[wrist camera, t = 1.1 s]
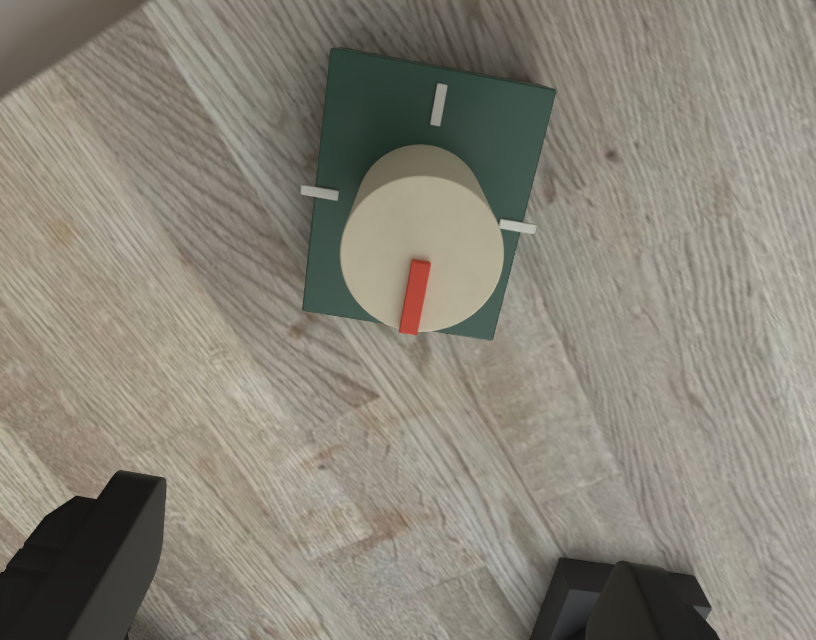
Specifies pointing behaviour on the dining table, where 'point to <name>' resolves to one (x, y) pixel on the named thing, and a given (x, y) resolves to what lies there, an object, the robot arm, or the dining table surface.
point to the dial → (421, 241)
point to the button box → (592, 598)
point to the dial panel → (413, 125)
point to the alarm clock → (126, 635)
